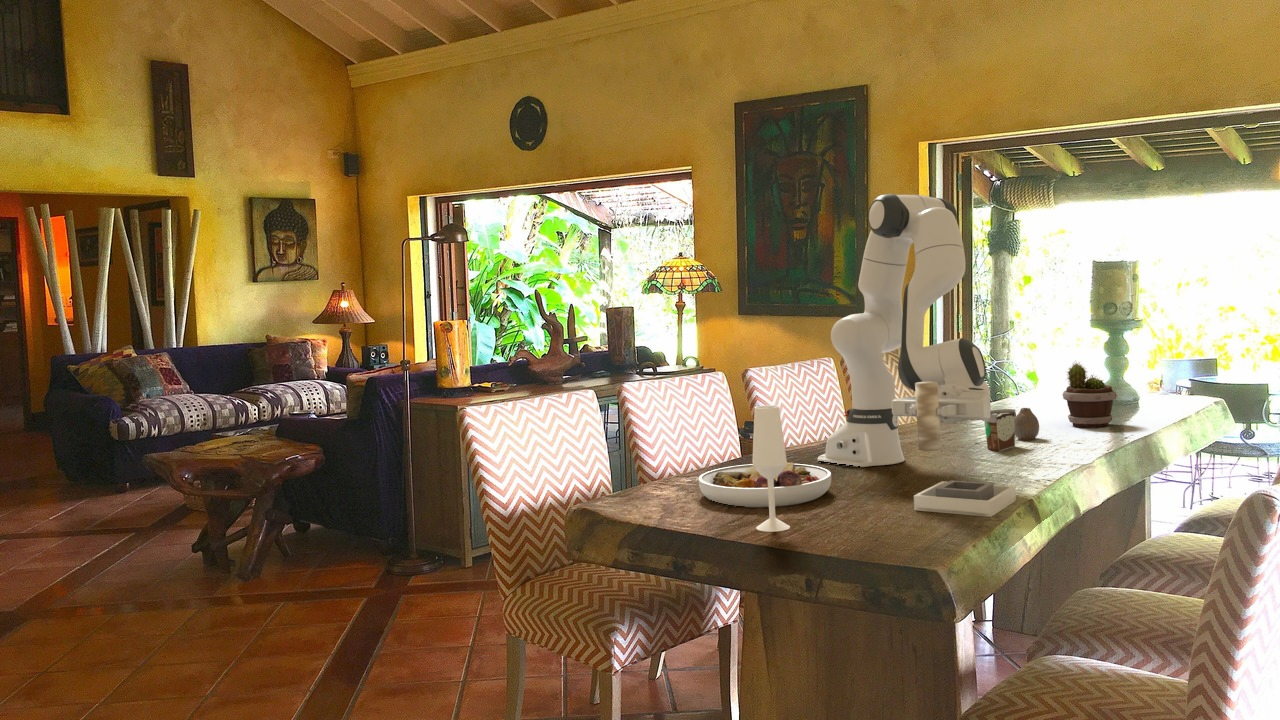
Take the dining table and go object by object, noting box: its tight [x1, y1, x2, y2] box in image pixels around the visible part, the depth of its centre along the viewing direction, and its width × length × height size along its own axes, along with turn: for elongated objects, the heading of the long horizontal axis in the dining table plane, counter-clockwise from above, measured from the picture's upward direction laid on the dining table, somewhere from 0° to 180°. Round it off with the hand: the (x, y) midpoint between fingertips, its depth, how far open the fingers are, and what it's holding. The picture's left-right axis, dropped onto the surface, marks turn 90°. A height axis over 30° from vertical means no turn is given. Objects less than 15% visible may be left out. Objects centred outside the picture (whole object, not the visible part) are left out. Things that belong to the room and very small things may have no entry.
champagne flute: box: [751, 404, 791, 533], centre depth 196 cm, size 7×7×24 cm
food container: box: [981, 408, 1017, 453], centre depth 269 cm, size 12×6×10 cm, turn 135°
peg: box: [914, 382, 942, 452], centre depth 208 cm, size 4×4×14 cm
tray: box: [913, 479, 1017, 518], centre depth 205 cm, size 16×16×4 cm
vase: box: [1015, 407, 1040, 441], centre depth 281 cm, size 7×7×9 cm
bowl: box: [698, 461, 832, 508], centre depth 227 cm, size 30×30×8 cm
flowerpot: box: [1061, 361, 1118, 429], centre depth 297 cm, size 14×15×20 cm
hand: (926, 411), depth 207 cm, fingers closed on peg, 4 cm apart
